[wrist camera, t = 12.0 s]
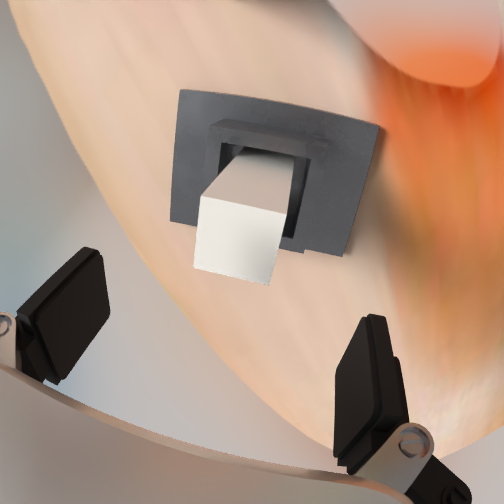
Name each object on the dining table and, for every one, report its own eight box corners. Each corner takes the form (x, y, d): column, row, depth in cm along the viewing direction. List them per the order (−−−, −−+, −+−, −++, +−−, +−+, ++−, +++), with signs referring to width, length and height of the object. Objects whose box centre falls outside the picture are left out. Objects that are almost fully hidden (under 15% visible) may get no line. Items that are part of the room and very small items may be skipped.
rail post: (294, 156, 25) (286, 214, 15) (284, 201, 27) (269, 285, 17) (245, 145, 25) (200, 195, 15) (237, 191, 27) (193, 267, 17)
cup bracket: (376, 124, 23) (394, 134, 19) (341, 251, 29) (346, 285, 25) (184, 89, 24) (156, 92, 19) (173, 216, 30) (150, 243, 26)
